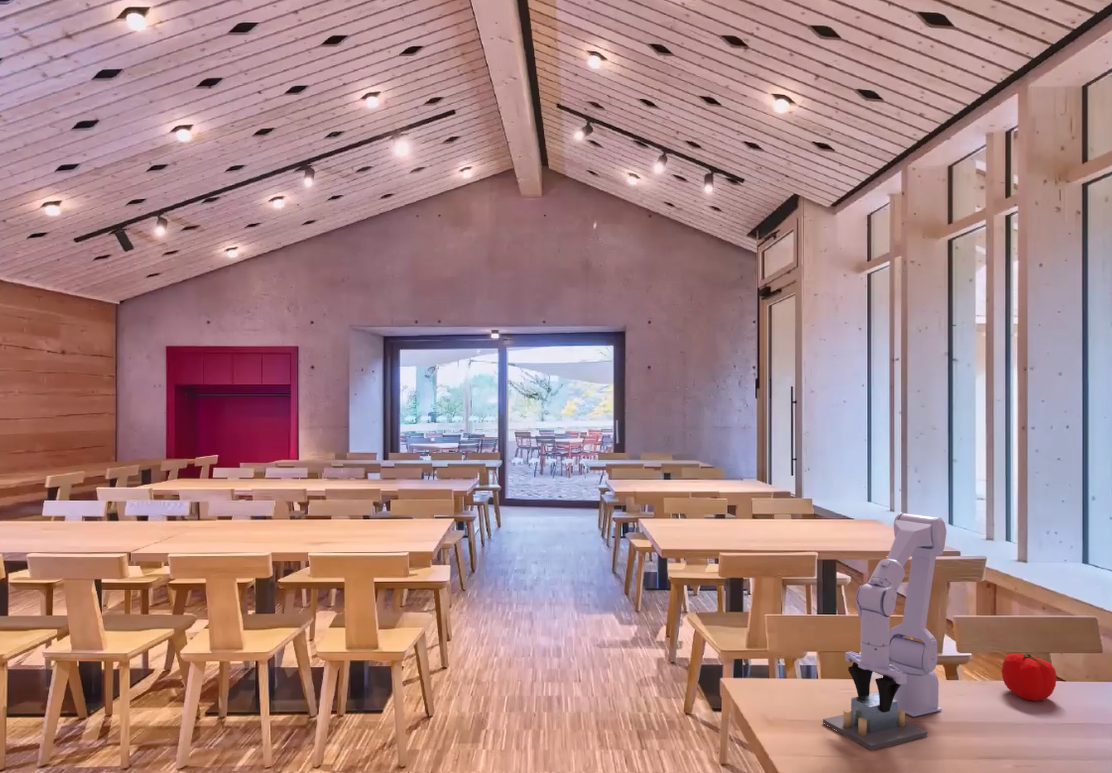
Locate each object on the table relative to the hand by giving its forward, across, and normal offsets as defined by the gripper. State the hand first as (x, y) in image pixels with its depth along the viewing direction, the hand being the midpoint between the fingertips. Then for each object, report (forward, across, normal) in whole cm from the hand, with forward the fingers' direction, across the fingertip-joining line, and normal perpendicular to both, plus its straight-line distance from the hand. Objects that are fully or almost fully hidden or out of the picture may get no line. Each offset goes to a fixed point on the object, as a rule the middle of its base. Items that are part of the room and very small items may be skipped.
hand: (874, 706), depth 156 cm
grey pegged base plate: (+5, 0, 0) cm, 5 cm away
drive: (+4, 0, 0) cm, 4 cm away
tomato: (+5, +1, +50) cm, 50 cm away
